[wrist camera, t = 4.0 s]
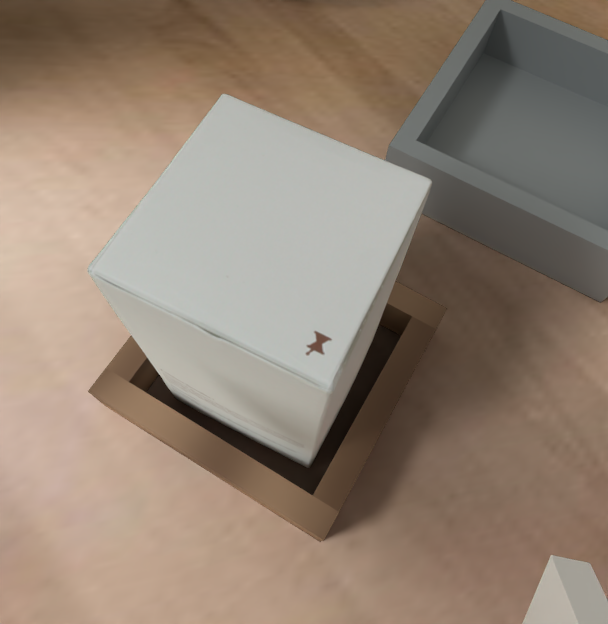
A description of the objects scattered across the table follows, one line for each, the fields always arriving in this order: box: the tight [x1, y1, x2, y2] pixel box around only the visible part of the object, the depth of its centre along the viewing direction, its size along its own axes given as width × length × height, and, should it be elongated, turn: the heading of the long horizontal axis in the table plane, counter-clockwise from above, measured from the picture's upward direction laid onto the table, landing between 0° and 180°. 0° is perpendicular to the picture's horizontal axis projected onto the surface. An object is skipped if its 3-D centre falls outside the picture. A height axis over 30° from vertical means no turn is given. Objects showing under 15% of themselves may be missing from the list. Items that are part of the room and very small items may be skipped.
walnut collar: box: [88, 281, 447, 542], centre depth 26 cm, size 11×11×2 cm
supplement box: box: [88, 94, 432, 468], centre depth 21 cm, size 7×7×13 cm
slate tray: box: [385, 0, 608, 302], centre depth 30 cm, size 13×13×4 cm
